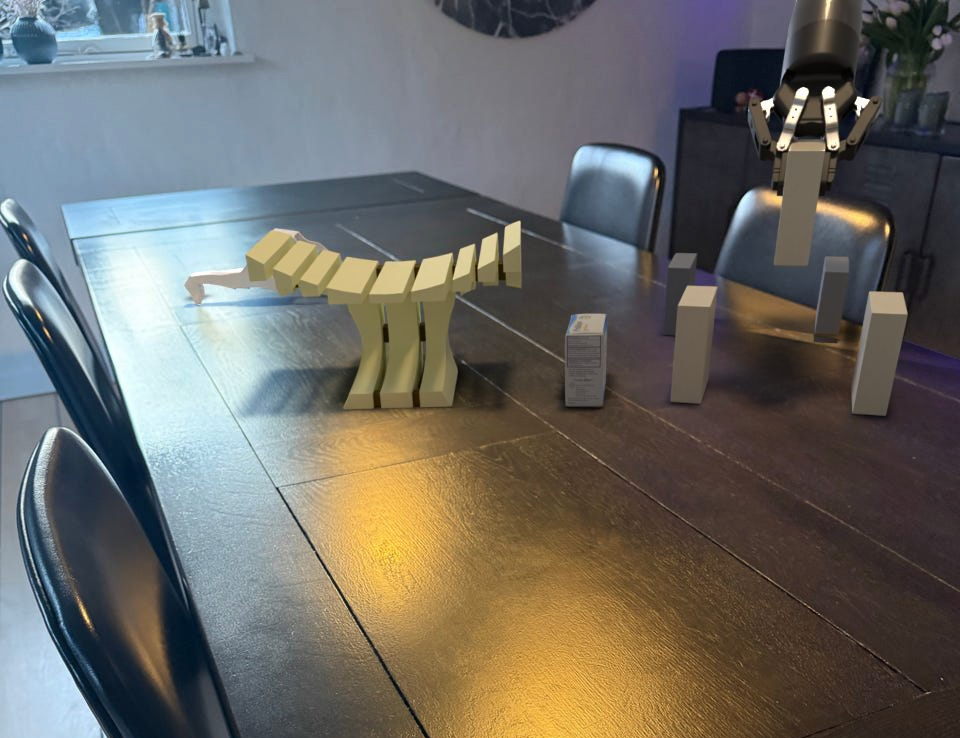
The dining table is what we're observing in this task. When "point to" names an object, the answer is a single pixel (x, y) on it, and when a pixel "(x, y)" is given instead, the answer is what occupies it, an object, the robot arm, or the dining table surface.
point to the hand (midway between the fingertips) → (801, 190)
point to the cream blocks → (871, 364)
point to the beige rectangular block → (799, 202)
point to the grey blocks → (827, 307)
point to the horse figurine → (236, 275)
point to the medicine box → (585, 360)
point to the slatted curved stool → (392, 309)
